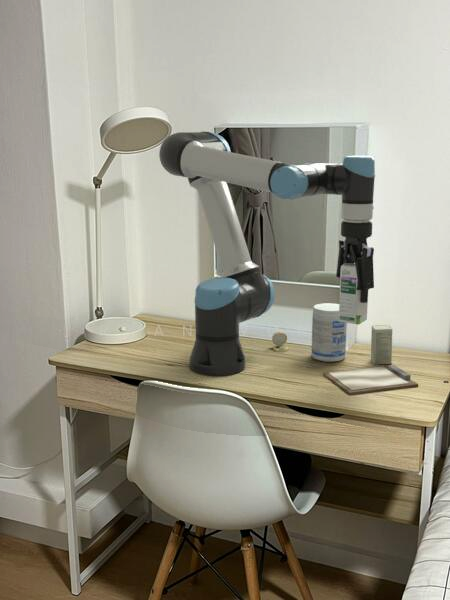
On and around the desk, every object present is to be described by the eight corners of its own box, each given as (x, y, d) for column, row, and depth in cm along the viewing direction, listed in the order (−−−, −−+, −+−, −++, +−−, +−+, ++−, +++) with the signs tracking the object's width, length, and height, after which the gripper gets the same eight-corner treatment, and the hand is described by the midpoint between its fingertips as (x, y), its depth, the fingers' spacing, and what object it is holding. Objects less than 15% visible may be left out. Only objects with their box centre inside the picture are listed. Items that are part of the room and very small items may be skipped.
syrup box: (337, 322, 176) (339, 265, 173) (346, 316, 181) (348, 261, 178) (359, 325, 173) (361, 267, 170) (367, 319, 178) (370, 263, 175)
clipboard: (323, 374, 184) (323, 368, 183) (387, 367, 189) (387, 360, 189) (349, 394, 170) (349, 387, 169) (418, 386, 175) (418, 379, 175)
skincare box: (388, 359, 195) (390, 324, 193) (391, 364, 191) (393, 329, 189) (369, 359, 196) (371, 324, 193) (372, 364, 191) (374, 329, 189)
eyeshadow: (274, 352, 202) (275, 335, 201) (271, 347, 207) (271, 331, 206) (289, 351, 202) (290, 335, 201) (286, 346, 207) (286, 330, 206)
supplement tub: (338, 365, 191) (340, 313, 187) (305, 359, 195) (307, 308, 192) (350, 355, 199) (352, 305, 196) (319, 350, 204) (320, 301, 200)
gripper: (392, 225, 163) (387, 319, 168) (350, 214, 182) (347, 300, 187) (363, 226, 160) (359, 322, 166) (324, 216, 180) (321, 302, 185)
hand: (353, 310), depth 177 cm, fingers closed on syrup box, 8 cm apart
